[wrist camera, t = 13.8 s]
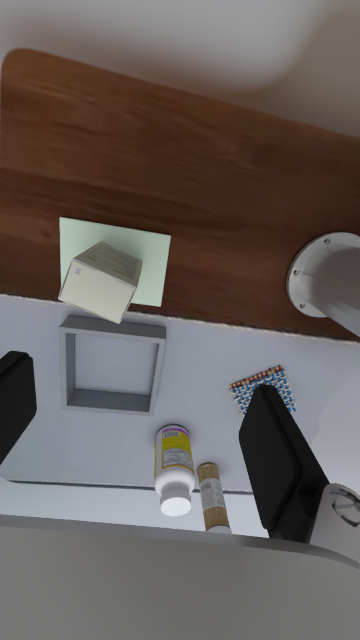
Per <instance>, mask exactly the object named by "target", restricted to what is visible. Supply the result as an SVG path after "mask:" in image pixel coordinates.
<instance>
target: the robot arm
mask: <svg viewBox="0 0 360 640" xmlns="http://www.w3.org/2000/svg"><path fill="white" fill-rule="evenodd" d="M324 240H325V241H324ZM294 271H295V272H294ZM286 290H287V295H288V297H289V299H290V301H291V303H292V304H293V305H294V307H296V308H297V309H298V310H299V311H301V312H302V313H304V314H306V315H309V316H312V317H329V318H331V319H333V320H334V321H336V322H337V323H339V324H340V325H342V326H343V327H345V328H347V329H348V330H350V331H351V332H353V333H354V334H356V335H357V336H359V337H360V237H359V236H358V235H355V234H352V233H346V232H332V233H328V234H324V235H322V236H319V237H317V238H315V239H314V240H312V241H311V242H309V243H308V244H307V245H306V246H304V247H303V248H302V249H301V250H300V252H299V253H298V254H297V255H296V256H295V258H294V260H293V261H292V263H291V265H290V268H289V270H288V274H287V279H286ZM36 410H37V404H36V392H35V380H34V368H33V359H32V357H29V355H28V353H26V352H18V351H10V352H8V353H7V354H6V355H5V356H3V357H2V358H1V359H0V465H1V463H2V462H3V460H4V459H5V458H6V456H7V455H8V453H9V452H10V450H11V449H12V448H13V446H14V445H15V443H16V442H17V440H18V439H19V438H20V436H21V435H22V433H23V432H24V430H25V429H26V428H27V426H28V425H29V423H30V422H31V420H32V419H33V418H34V416H35V414H36ZM239 442H240V446H241V449H242V453H243V457H244V460H245V464H246V468H247V472H248V475H249V479H250V483H251V486H252V490H253V494H254V498H255V501H256V505H257V509H258V512H259V516H260V520H261V523H262V526H263V528H264V529H267V531H268V534H269V538H263V537H253V536H245V535H236V534H225V533H214V532H202V531H192V530H180V529H169V528H159V527H158V528H157V527H146V526H135V525H123V524H112V523H100V522H88V521H76V520H64V519H50V518H38V517H25V516H14V515H1V514H0V640H360V496H359V495H358V494H357V493H356V492H354V491H353V490H351V489H350V488H347V487H345V486H344V485H341V484H337V483H332V484H330V483H329V481H328V479H327V477H326V476H325V474H324V472H323V470H322V468H321V467H320V465H319V463H318V461H317V460H316V458H315V456H314V454H313V452H312V450H311V449H310V447H309V445H308V443H307V442H306V440H305V438H304V436H303V434H302V433H301V431H300V429H299V427H298V426H297V424H296V422H295V421H294V419H293V417H292V415H291V414H290V412H289V410H288V408H287V406H286V405H285V403H284V401H283V399H282V397H281V396H280V394H279V392H278V390H277V388H276V387H275V386H274V385H267V384H260V385H259V387H255V388H254V391H253V394H252V397H251V399H250V402H249V405H248V408H247V411H246V414H245V416H244V419H243V422H242V425H241V428H240V430H239Z"/></svg>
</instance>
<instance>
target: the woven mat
mask: <svg viewBox="0 0 360 640" xmlns="http://www.w3.org/2000/svg"><path fill="white" fill-rule="evenodd" d="M281 368H282V367H281V366H278V367H275V368H273V369H272V370H271V369H269V371H266V372H263V373H260V374H258V375H255V376H253V377H250V378H247V379H246V380H245V379H243V381H240V382H237V383H235V384H232V385H230V386H228V387H229V388H231V387H232V389H231V391H230V393H231V395H232V396H233V397H235V396H236V398H235V400H234V402H236V404H238V406H239V408H240V409H241V410H239V411H241V412H240V415H241V416H242V417H244V416H245V414H246V411H247V408H248V405H249V402H250V399H251V397H252V394H253V392H250V391H252V390H253V391H254V388H255V387H259V385H260V384H267V385H274V386H275V387H276V388H277V390H278V392H279V391H280V390H281V391H280V392H279V394H280V396H281V397H282V399H283V398H284V399H283V401H284V403H286V404H285V405H286V406H287V408H288V410H289V412H290V411H291V408H290V407H292V408H293V410H294V411H296V409H295V405H296V403H295V402H294V400H293V401H292V399H293V398H294V397H293V396H292V395H293V394H292V393H290V392H292V391H289V390H291V389H290V388H291V387H290V385H289V382H288V379H285V378H286V376H287V375H285V374H286V372H285V371H284V370H281ZM277 370H279V372H277ZM264 375H266V377H264ZM268 375H269V376H268ZM284 375H285V376H284ZM261 376H262V378H261ZM271 378H272V380H271ZM255 379H256V380H255ZM281 379H282V381H281ZM251 380H253V382H251ZM266 380H268V382H266ZM277 380H278V382H276V381H277ZM263 382H264V383H263ZM238 385H241V387H239V386H238ZM253 385H255V386H254V387H253ZM235 386H236V387H237V388H234V387H235ZM278 386H280V387H278ZM288 386H289V387H288ZM249 387H251V388H249ZM244 388H245V389H244ZM284 388H285V389H284ZM241 389H242V390H241ZM238 395H240V396H239V397H238ZM249 396H250V397H249ZM287 396H288V398H287ZM244 398H245V399H244ZM241 399H242V400H241ZM288 400H289V401H288ZM239 408H238V409H239ZM243 408H244V409H243Z"/></svg>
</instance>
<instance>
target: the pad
mask: <svg viewBox="0 0 360 640" xmlns="http://www.w3.org/2000/svg"><path fill="white" fill-rule="evenodd" d="M170 238H171V235H165V234H159V233H153V232H148V231H142V230H136V229H130V228H124V227H118V226H112V225H106V224H100V223H94V222H89V221H83V220H77V219H71V218H65V217H60V252H61V287H62V284H63V281H64V278H65V276H66V273H67V270H68V267H69V265H70V262H71V260H72V258H74V257H76V256H77V255H79V254H81V253H82V252H84V251H86V250H87V249H89V248H91V247H92V246H94V245H95V244H97V243H99V242H100V241H101V242H104V243H106V244H108V245H111V246H113V247H115V248H117V249H119V250H121V251H123V252H125V253H127V254H129V255H131V256H133V257H135V258H137V259H139V260H141V261H142V262H143V265H142V269H141V274H140V278H139V282H138V286H137V291H136V293H135V295H134V297H133V299H132V301H131V303H137V304H145V305H152V306H160V307H161V300H162V293H163V286H164V280H165V273H166V266H167V259H168V252H169V245H170Z"/></svg>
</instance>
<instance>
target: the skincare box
mask: <svg viewBox="0 0 360 640" xmlns="http://www.w3.org/2000/svg"><path fill="white" fill-rule="evenodd" d="M142 265H143V262H142V261H141V260H139V259H137V258H135V257H133V256H131V255H129V254H127V253H125V252H123V251H121V250H119V249H117V248H115V247H113V246H111V245H108V244H106V243H104V242H101V241H100V242H99V243H97V244H95V245H94V246H92V247H91V248H89V249H87V250H86V251H84V252H82V253H81V254H79V255H77V256H76V257H74V258H72V260H71V262H70V265H69V267H68V270H67V273H66V276H65V278H64V281H63V284H62V287H61V290H60V294H59V297H58V298H59V300H61V301H63V302H65V303H68V304H70V305H72V306H74V307H77V308H79V309H81V310H84V311H86V312H89V313H91V314H94V315H96V316H99V317H102V318H104V319H107V320H109V321H112V322H115V323H118V324H119V323H120V322H121V320H122V318H123V316H124V315H125V313H126V311H127V309H128V307H129V305H130V303H131V301H132V299H133V297H134V295H135V293H136V291H137V286H138V282H139V278H140V274H141V269H142Z"/></svg>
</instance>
